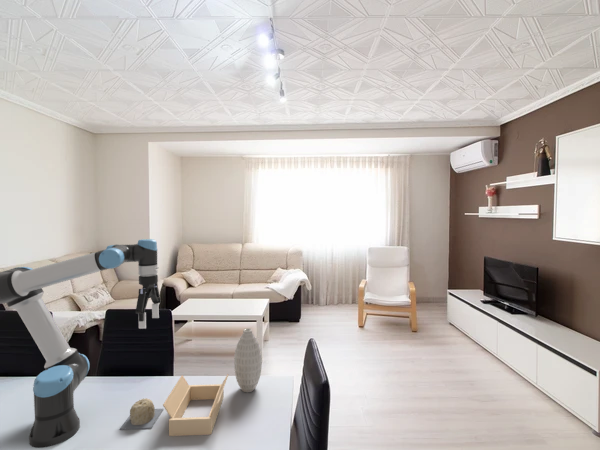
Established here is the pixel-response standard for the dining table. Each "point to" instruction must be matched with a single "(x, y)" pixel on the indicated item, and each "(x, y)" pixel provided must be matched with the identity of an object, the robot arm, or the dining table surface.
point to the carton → (180, 401)
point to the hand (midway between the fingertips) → (149, 322)
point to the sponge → (142, 412)
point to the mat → (148, 425)
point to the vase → (247, 361)
